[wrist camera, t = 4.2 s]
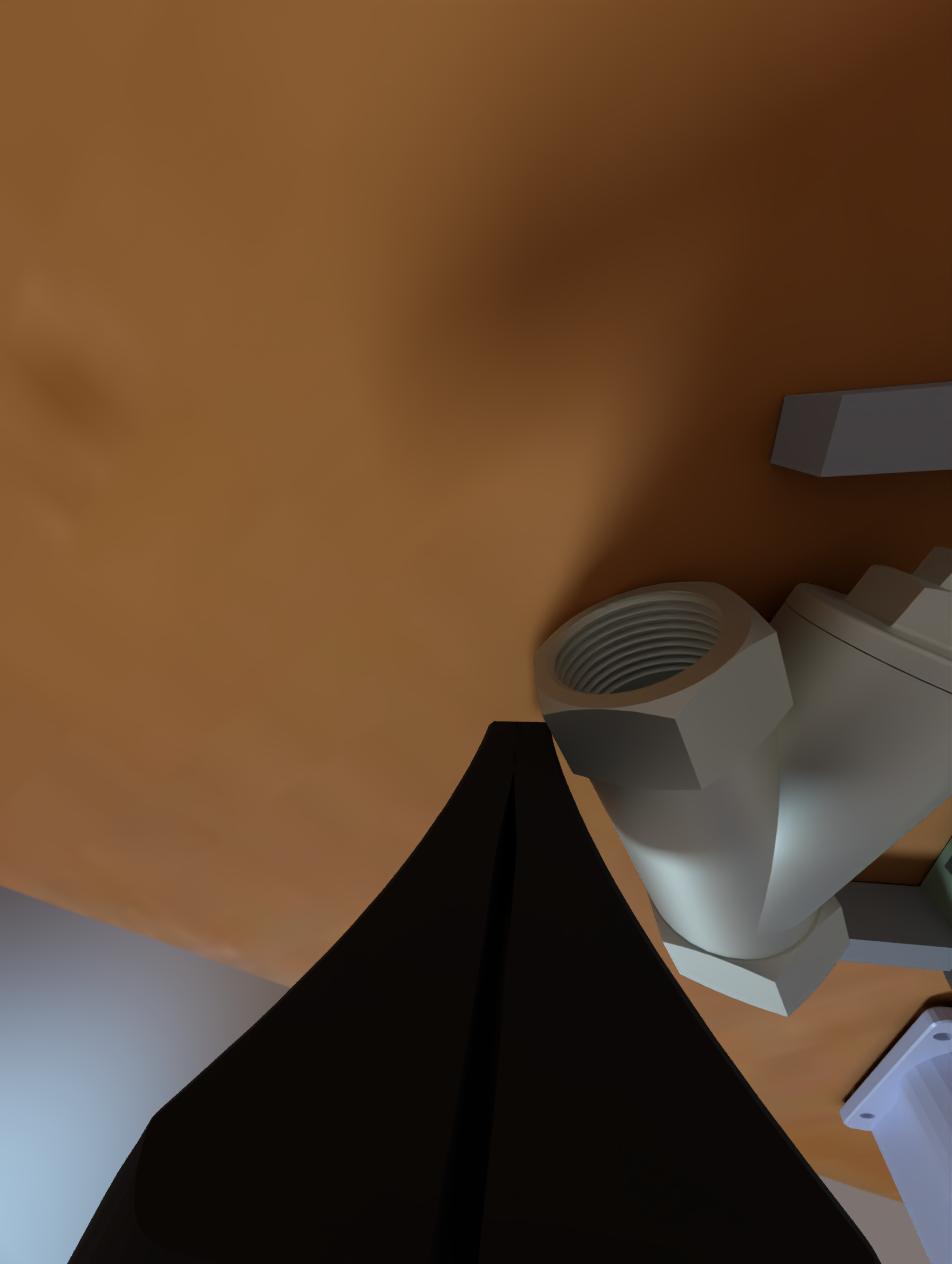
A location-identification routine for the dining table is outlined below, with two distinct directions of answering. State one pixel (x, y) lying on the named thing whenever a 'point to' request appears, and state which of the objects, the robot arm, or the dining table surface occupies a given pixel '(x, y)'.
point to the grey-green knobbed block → (858, 445)
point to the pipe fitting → (758, 756)
